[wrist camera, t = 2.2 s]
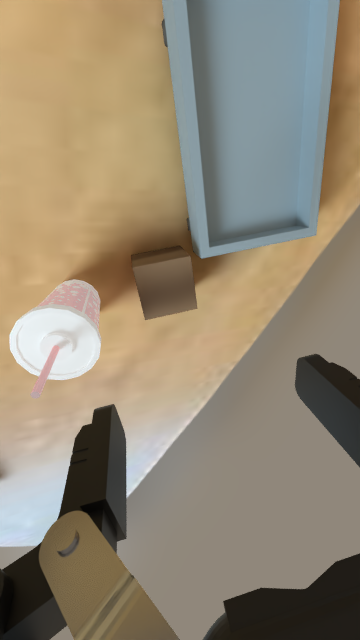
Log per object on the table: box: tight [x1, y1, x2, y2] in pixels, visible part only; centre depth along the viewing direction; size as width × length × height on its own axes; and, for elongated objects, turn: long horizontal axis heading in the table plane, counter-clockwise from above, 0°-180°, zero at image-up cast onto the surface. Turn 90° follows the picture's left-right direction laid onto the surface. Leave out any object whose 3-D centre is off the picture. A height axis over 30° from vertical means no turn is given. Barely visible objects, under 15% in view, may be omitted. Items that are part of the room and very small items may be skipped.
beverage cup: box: [10, 279, 101, 398], centre depth 20 cm, size 6×6×14 cm
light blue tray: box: [162, 0, 340, 259], centre depth 20 cm, size 18×11×4 cm, turn 9°
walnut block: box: [131, 246, 197, 320], centre depth 25 cm, size 5×5×5 cm
